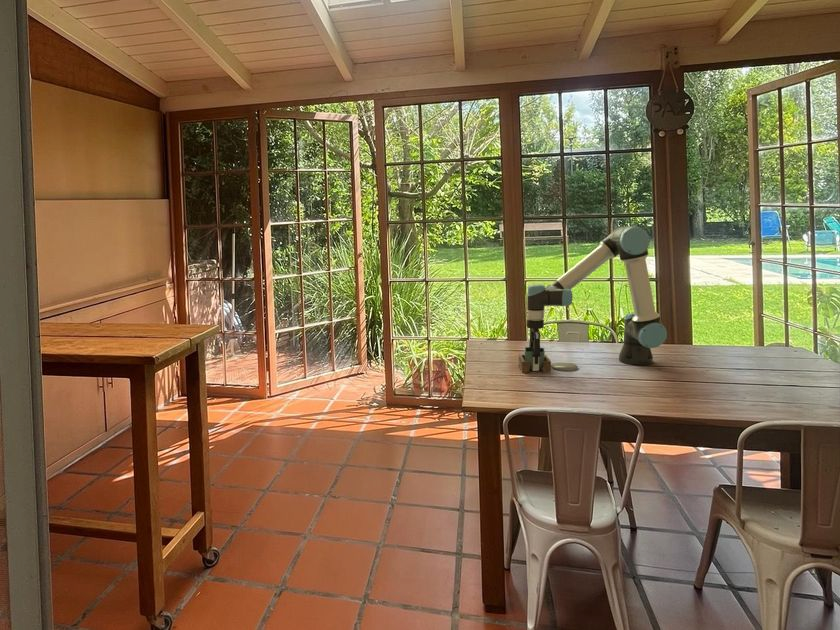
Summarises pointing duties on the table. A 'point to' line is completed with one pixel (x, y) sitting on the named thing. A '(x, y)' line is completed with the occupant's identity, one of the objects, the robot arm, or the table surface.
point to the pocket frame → (526, 364)
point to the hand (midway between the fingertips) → (534, 367)
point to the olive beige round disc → (564, 366)
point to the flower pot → (529, 357)
